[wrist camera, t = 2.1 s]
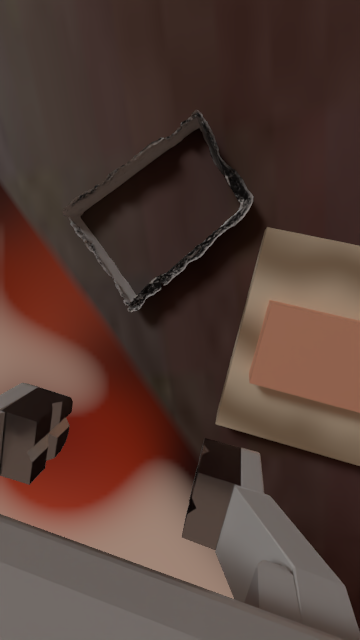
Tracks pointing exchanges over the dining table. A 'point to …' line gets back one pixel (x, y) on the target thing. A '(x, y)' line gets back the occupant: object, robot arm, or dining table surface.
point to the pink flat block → (309, 355)
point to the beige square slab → (267, 284)
